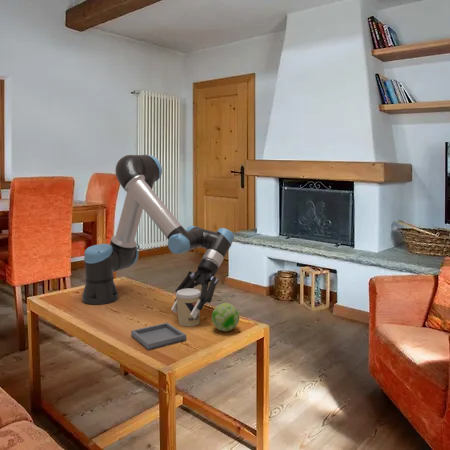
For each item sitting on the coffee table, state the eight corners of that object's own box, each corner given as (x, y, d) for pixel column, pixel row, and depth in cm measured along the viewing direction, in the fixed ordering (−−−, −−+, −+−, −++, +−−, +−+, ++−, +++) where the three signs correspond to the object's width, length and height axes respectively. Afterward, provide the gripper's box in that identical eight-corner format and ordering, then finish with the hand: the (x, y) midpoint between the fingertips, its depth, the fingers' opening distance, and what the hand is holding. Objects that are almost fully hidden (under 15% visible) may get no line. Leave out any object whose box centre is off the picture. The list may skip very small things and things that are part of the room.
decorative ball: (222, 323, 171) (221, 297, 170) (244, 329, 166) (244, 302, 164) (206, 331, 163) (205, 304, 162) (229, 338, 158) (229, 310, 156)
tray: (131, 336, 159) (131, 330, 159) (167, 327, 167) (167, 322, 167) (148, 350, 148) (148, 344, 148) (186, 340, 156) (186, 334, 155)
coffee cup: (188, 329, 166) (188, 297, 164) (171, 323, 172) (170, 292, 170) (206, 322, 172) (206, 291, 171) (189, 316, 179) (188, 286, 177)
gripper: (236, 273, 175) (210, 325, 165) (194, 264, 188) (167, 312, 178) (228, 262, 170) (200, 315, 160) (185, 254, 183) (157, 303, 173)
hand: (183, 313), depth 169 cm, fingers closed on coffee cup, 9 cm apart
